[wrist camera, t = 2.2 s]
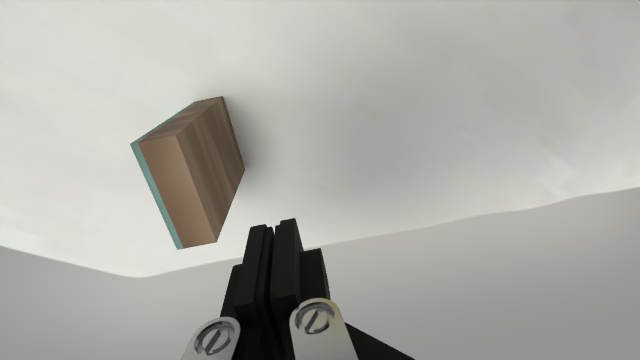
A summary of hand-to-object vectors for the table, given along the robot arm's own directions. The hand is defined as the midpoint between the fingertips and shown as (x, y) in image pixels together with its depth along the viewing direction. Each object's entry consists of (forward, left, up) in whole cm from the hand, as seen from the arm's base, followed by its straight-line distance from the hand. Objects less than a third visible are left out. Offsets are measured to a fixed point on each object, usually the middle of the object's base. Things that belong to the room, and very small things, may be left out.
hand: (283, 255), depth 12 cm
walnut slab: (+7, 0, -19) cm, 20 cm away
